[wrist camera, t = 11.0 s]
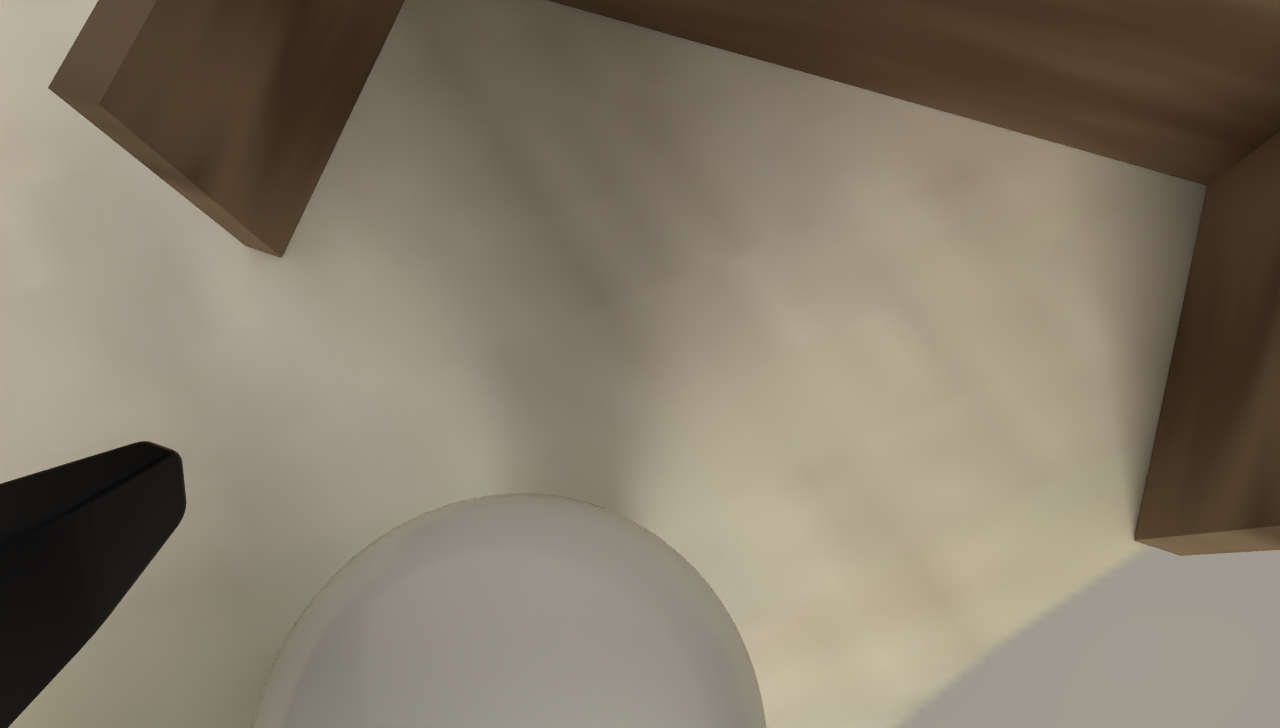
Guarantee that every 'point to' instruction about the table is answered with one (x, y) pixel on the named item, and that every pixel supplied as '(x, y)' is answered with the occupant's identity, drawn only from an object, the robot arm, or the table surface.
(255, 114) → the open box
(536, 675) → the lightbulb
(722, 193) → the table surface
